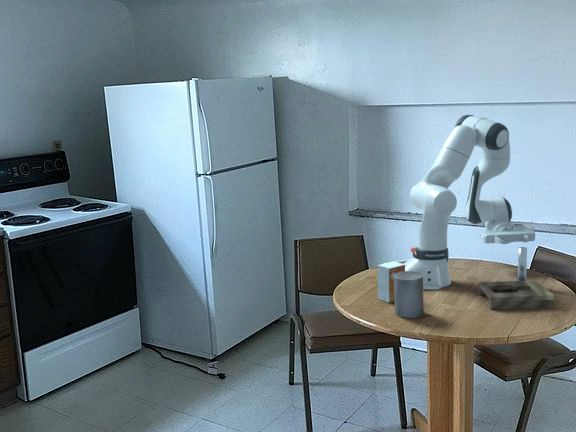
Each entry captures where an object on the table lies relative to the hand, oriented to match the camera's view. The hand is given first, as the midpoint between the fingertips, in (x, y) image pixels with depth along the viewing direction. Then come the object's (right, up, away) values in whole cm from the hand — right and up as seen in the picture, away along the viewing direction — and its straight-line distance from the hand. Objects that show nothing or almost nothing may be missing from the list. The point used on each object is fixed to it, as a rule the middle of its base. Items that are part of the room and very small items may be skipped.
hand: (513, 241), depth 248 cm
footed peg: (0, -17, -9) cm, 19 cm away
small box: (-51, -21, -16) cm, 57 cm away
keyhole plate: (-8, -20, -24) cm, 33 cm away
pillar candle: (-47, -24, -32) cm, 62 cm away
